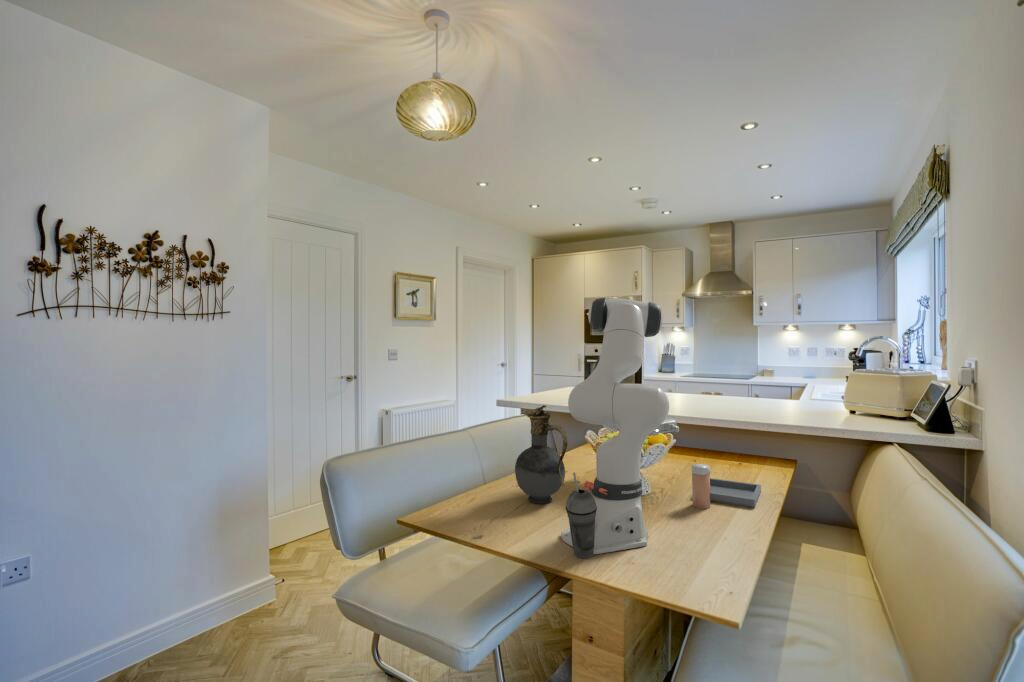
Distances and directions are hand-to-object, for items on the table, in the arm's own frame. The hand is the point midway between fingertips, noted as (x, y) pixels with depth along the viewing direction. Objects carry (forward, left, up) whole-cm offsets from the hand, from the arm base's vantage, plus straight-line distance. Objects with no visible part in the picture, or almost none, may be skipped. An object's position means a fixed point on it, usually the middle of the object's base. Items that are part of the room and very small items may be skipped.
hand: (667, 431), depth 158 cm
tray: (+15, -11, -20) cm, 27 cm away
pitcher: (-38, +15, -21) cm, 46 cm away
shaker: (0, -13, -20) cm, 24 cm away
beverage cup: (-51, -21, -20) cm, 58 cm away
